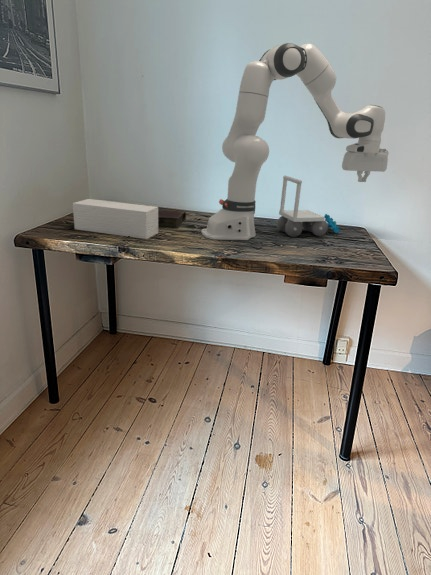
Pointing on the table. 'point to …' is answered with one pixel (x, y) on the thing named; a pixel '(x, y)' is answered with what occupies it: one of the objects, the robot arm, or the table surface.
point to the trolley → (299, 215)
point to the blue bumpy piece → (331, 223)
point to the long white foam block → (116, 218)
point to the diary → (170, 218)
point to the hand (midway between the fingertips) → (361, 181)
